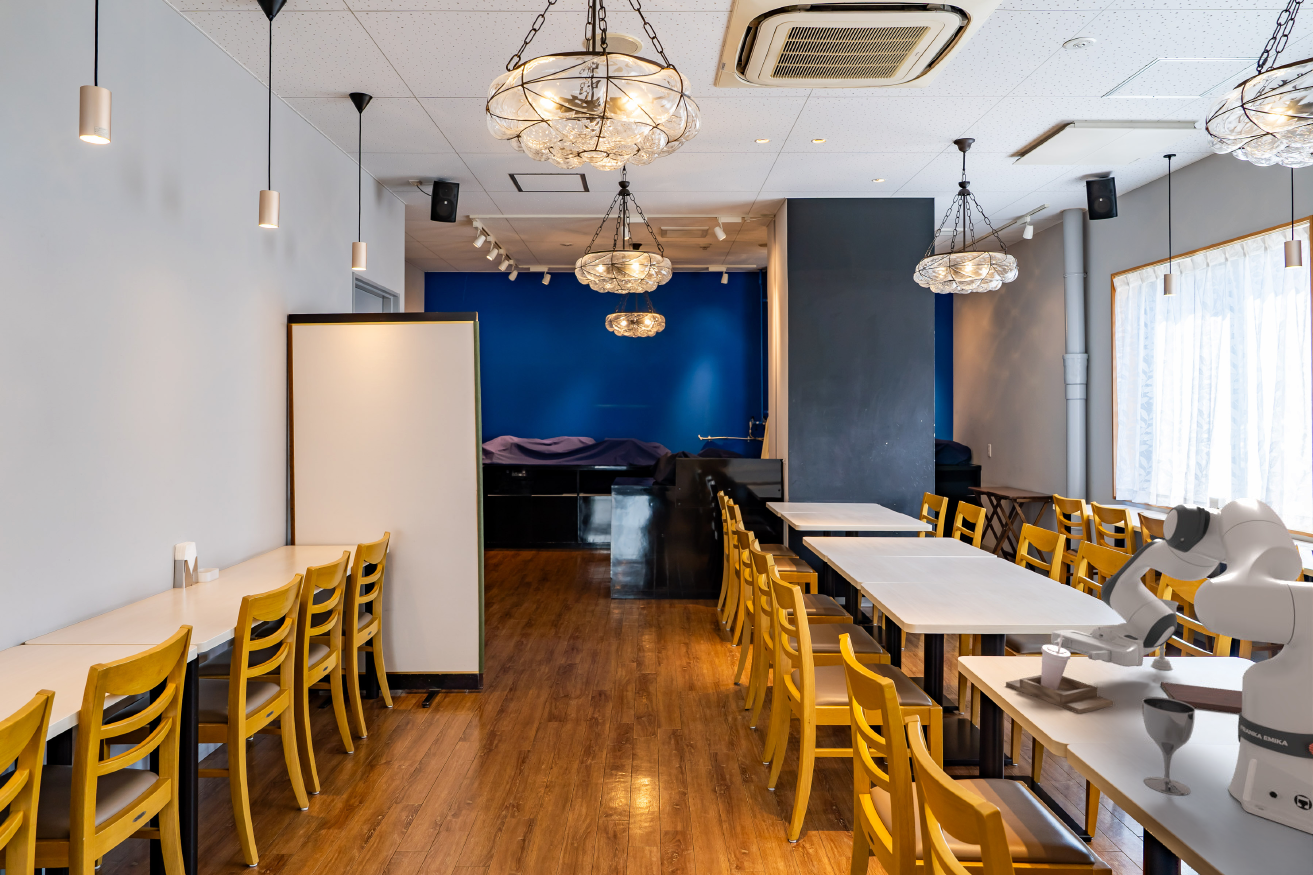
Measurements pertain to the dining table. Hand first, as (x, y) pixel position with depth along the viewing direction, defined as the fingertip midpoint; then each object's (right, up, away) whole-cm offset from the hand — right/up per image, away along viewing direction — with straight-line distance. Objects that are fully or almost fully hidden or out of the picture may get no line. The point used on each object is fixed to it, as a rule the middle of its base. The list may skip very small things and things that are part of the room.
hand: (1072, 650), depth 188 cm
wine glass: (-9, -11, -49) cm, 51 cm away
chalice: (+35, -10, +20) cm, 42 cm away
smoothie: (-6, -9, 0) cm, 11 cm away
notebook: (+32, -11, -5) cm, 34 cm away
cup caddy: (-5, -10, -2) cm, 12 cm away
